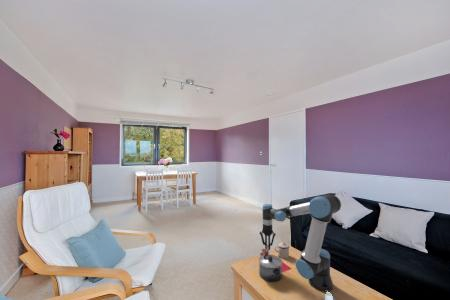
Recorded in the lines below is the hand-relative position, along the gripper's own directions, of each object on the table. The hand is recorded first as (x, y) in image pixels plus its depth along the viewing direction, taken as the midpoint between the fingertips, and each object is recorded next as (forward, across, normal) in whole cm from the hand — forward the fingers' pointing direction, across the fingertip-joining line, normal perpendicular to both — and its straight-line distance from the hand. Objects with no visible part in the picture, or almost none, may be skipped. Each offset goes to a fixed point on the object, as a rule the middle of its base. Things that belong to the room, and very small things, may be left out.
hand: (267, 253), depth 159 cm
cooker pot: (+9, -2, +10) cm, 14 cm away
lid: (0, -2, +9) cm, 9 cm away
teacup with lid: (+10, -10, -19) cm, 23 cm away
